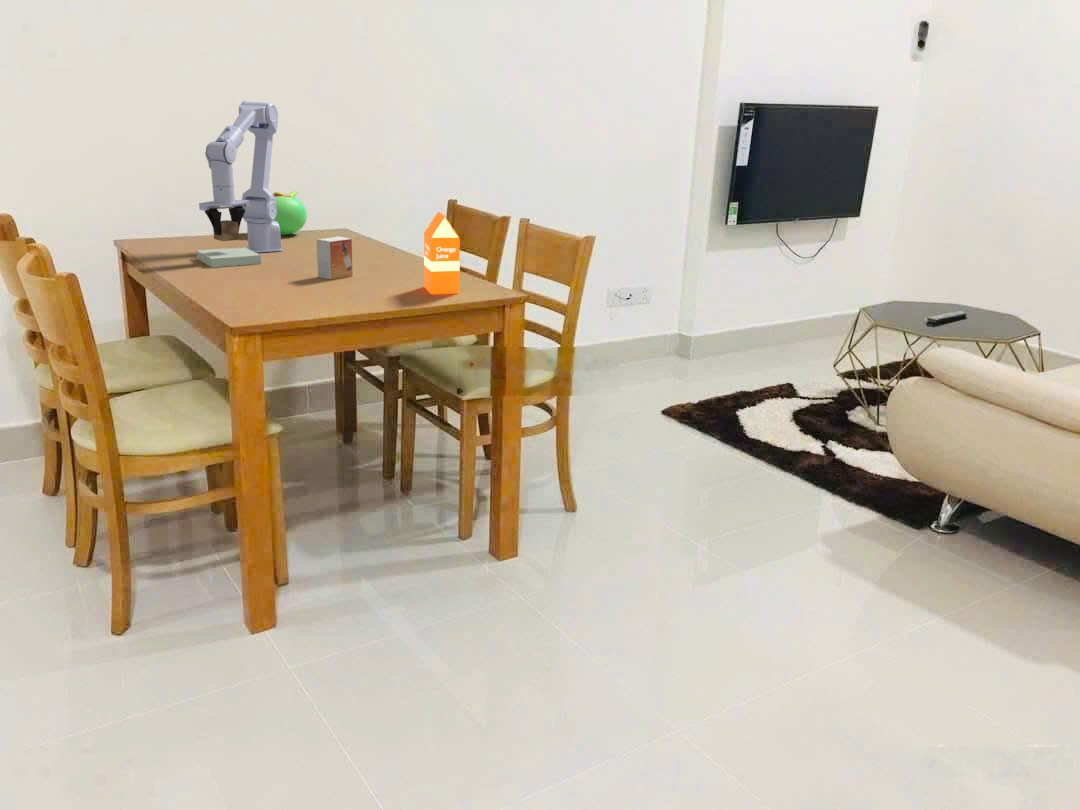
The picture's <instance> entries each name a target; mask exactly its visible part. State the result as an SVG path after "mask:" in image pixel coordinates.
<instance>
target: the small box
mask: <svg viewBox="0 0 1080 810" xmlns="http://www.w3.org/2000/svg"><path fill="white" fill-rule="evenodd" d="M352 240H353V239H352V238H349V237H344V236H340V235H339V236H332V237H326V238H317V239H316V260H317V261H316V262H317V277H318V278H321V279H326V280H329V281H331V280H332V281H333V280H335V279H340V278H341V279H343V278H350V277H353V276H354V275H353V247H352V246H353V241H352Z"/></svg>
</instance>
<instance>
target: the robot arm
mask: <svg viewBox="0 0 1080 810" xmlns="http://www.w3.org/2000/svg"><path fill="white" fill-rule="evenodd" d="M278 120H279V112H278V109H277V107H276V104H274V103H273V102H272V101H271V102H262V101H261V102H258V101H246V100H243V101H241V103H240V105H238V116H237V117H236V120H234V122H233V124H232V125H226V126H225V128H224V129H223V130H222V132H221V133H220V134H219V135H218V137H217V138H216V140H215V141H211V142H209V143H207V145H206V148H205V152H204V155H205V158H206V160H207V162H208V167H209V169H210V172H211V185H212V196H213V197H212V198H213V201H211V200H210V201H204V202H199V203H198V205H199V206H198V207H199V210H200V211H204V213H205V215H206V216H207V219H209V221H210V223H211V226H212V229H214V231H213V233H214V232H215V235H221V221H222V220H221V219H222V212H221V211H220V210H224V209H228V212H229V215H230V221H235V222H238V231H239V232H240V226H241V224H242V223H241V222H242V219H243V220H244V222H246V230H247V243H248V245H247V246H244V247H245V248H247V249H249V250H251V251H253V252H255V253H257V254H259V253H270V252H272V253H273V252H282V251H283V248H282V239H281V237H282V235H281V234H280V227H279V224H278V222H277V221H273V220H274V219H275V217H276V214H277V208H276V198H275V197H274V196H273V195H272V194H273V193H272V192H271V191H269V186H270V185H269V183H270V173H271V163H272V162H271V161H272V151H273V141H274V135H275V134H276V133H277V130H278V123H279V121H278ZM247 131H248V132H249V133H252V134H253V135H254V137H255V139H254V146H253V147H254V149H253V158H252V169H251V170H252V171H251V180H250V188H248V189H247V190H246V191H244V192H243V193H242V198H241V199H235V198H236V197H235V188H234V187H235V184H234V171H233V170H234V169H233V163H234V162H235V161H236V157H237V153H238V148H240V146H241V144H242V143H243V142H244V139H245V136H244V134H245V133H246V132H247ZM256 199H257V200H256Z"/></svg>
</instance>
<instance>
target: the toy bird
mask: <svg viewBox="0 0 1080 810" xmlns="http://www.w3.org/2000/svg"><path fill="white" fill-rule="evenodd" d="M271 194H272V195H273V196H274V197H275V198H276V208H277V214H276V217H275V219H274V220H273V221H277V222H278V224H279V227H280V234H281V236H287V235H288V236H289V235H292V234H295V233H297V232H299V231H300V230H301V229H302V228H303V227H304V226H305V225H306V222H307V217H308V216H307V215H308V214H307V209H306V207H305V205H304V204H303V202H302V201H301V200H300V199H298V198H297V197H296V196H297V195H298V191H291V192H289V193H282V192H278V191H276V192H274V193H271ZM256 200H257V199H256Z"/></svg>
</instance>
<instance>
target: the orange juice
mask: <svg viewBox="0 0 1080 810" xmlns="http://www.w3.org/2000/svg"><path fill="white" fill-rule="evenodd" d="M460 239H461V238H460V237H459V235H458V234H457V232H456V230H455V229H454V228H453V227H452V225H451V223H450V222H449V220H448V219H447V217H446V215H444V214H443V213H442V212H440V211H437V213H436V214H435V216H434V217H433V218H432V220H431V222H430V223H429V224H428V226H427V227H426V229H425V230H424V232H423V270H424V271H423V273H424V275H423V281H424V282H423V286H424V287H423V288H425V290H426V291H427V292H428V293H429V294H430V295H450V294H452V295H453V294H454V295H455V294H460V269H461V268H460V264H461V263H460V257H461V256H460V252H461V251H460V250H461V247H460V246H461V240H460Z"/></svg>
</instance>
